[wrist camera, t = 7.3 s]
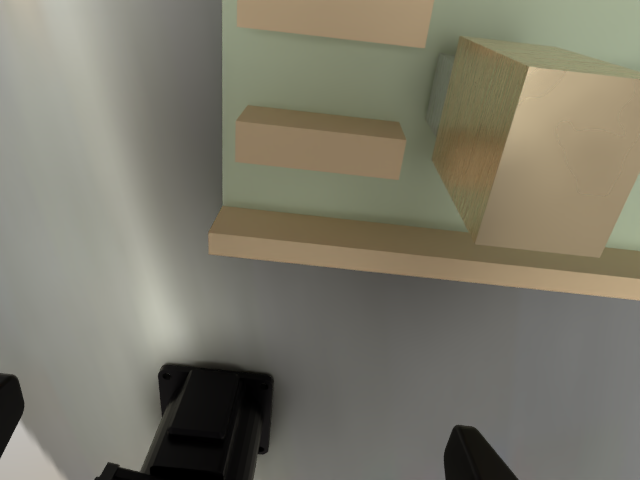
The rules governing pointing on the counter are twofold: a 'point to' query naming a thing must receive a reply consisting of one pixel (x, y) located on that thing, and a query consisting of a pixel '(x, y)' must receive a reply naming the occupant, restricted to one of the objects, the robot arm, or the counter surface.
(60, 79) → the counter surface
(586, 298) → the counter surface
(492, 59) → the tan and grey block
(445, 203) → the pitch
